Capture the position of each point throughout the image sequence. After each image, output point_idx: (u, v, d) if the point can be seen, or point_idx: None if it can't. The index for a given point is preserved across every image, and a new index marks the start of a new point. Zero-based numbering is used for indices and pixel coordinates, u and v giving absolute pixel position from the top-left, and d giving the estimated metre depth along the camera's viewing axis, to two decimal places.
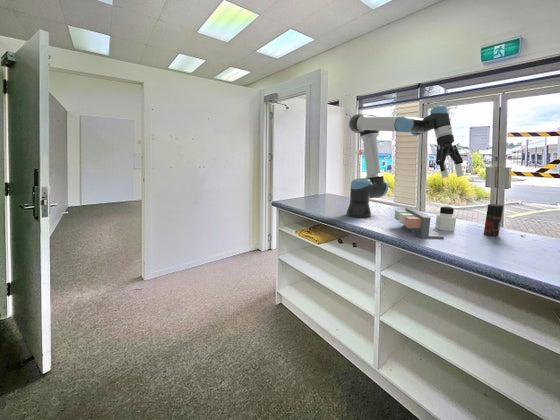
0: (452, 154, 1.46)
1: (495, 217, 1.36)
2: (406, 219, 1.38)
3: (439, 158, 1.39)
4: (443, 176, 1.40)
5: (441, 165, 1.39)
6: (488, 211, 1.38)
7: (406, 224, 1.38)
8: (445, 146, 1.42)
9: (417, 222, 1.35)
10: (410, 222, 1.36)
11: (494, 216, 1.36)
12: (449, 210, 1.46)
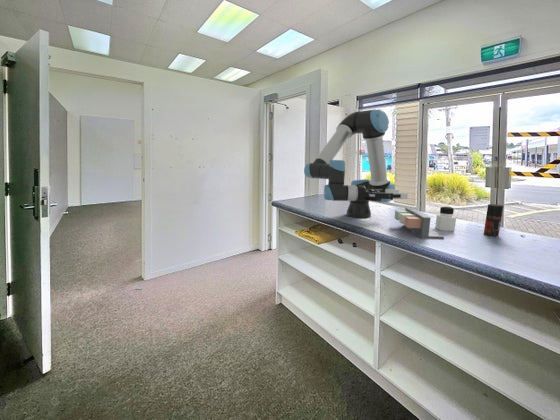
0: None
1: (495, 217, 1.36)
2: (406, 219, 1.38)
3: None
4: None
5: None
6: (488, 211, 1.38)
7: (406, 224, 1.38)
8: None
9: (417, 222, 1.35)
10: (410, 222, 1.36)
11: (494, 216, 1.36)
12: (449, 210, 1.46)
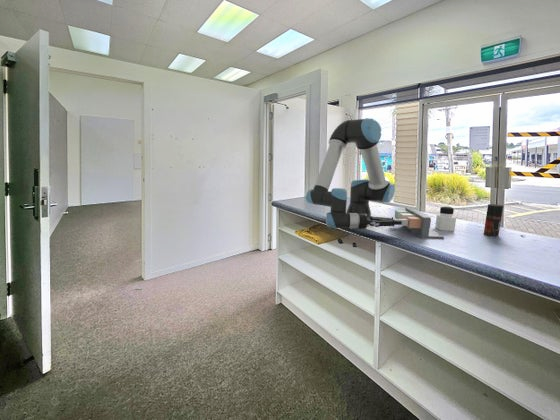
0: None
1: (495, 217, 1.36)
2: (408, 219, 1.38)
3: None
4: None
5: None
6: (488, 211, 1.38)
7: (408, 224, 1.38)
8: None
9: (418, 222, 1.35)
10: (411, 222, 1.36)
11: (494, 216, 1.36)
12: (449, 210, 1.46)
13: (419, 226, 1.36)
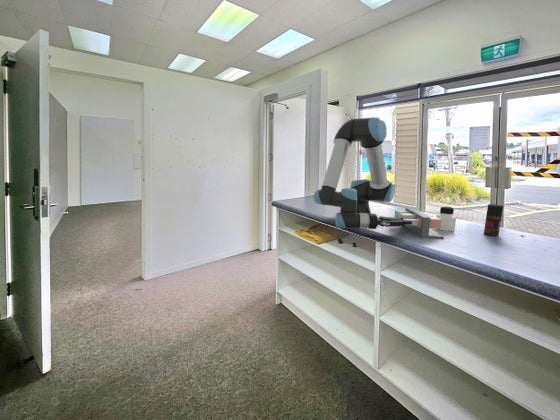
0: None
1: (495, 217, 1.36)
2: (418, 219, 1.38)
3: None
4: None
5: None
6: (488, 211, 1.38)
7: (418, 224, 1.38)
8: None
9: None
10: None
11: (494, 216, 1.36)
12: (449, 210, 1.46)
13: None
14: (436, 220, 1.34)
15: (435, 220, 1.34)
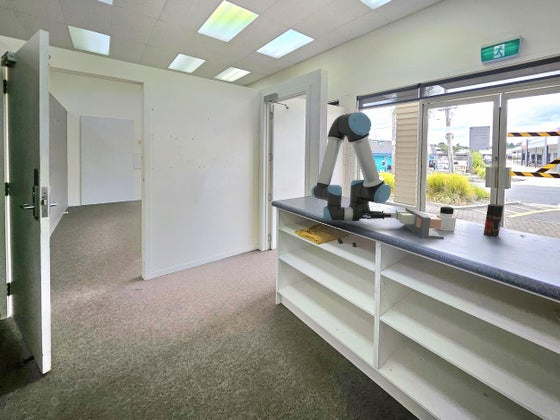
0: None
1: (495, 217, 1.36)
2: (418, 219, 1.38)
3: None
4: None
5: None
6: (488, 211, 1.38)
7: (418, 224, 1.38)
8: None
9: None
10: None
11: (494, 216, 1.36)
12: (449, 210, 1.46)
13: None
14: (436, 220, 1.34)
15: (435, 220, 1.34)
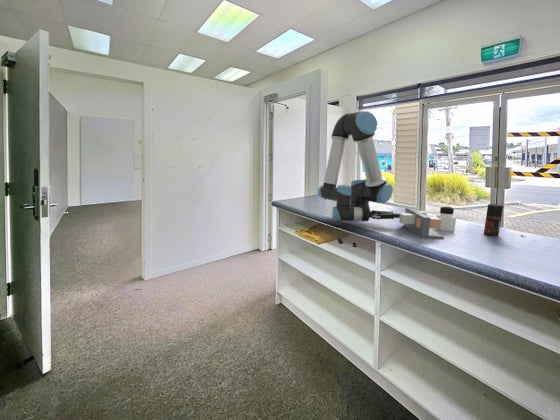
0: None
1: (495, 217, 1.36)
2: (418, 219, 1.38)
3: None
4: None
5: None
6: (488, 211, 1.38)
7: (418, 224, 1.38)
8: None
9: None
10: None
11: (494, 216, 1.36)
12: (449, 210, 1.46)
13: None
14: (436, 220, 1.34)
15: (435, 220, 1.34)
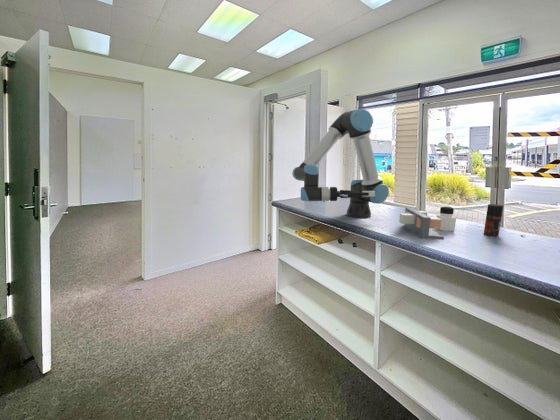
0: None
1: (495, 217, 1.36)
2: (418, 219, 1.38)
3: None
4: None
5: None
6: (488, 211, 1.38)
7: (418, 224, 1.38)
8: None
9: None
10: None
11: (494, 216, 1.36)
12: (449, 210, 1.46)
13: None
14: (436, 220, 1.34)
15: (435, 220, 1.34)
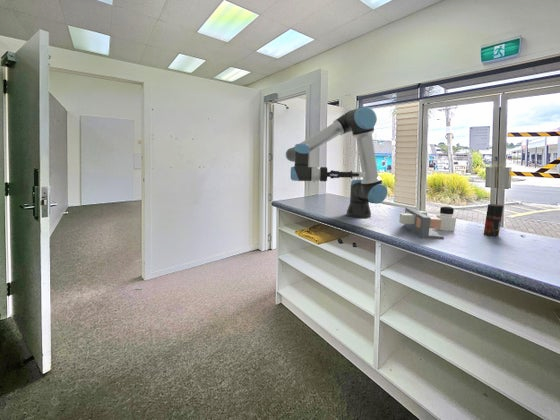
0: None
1: (495, 217, 1.36)
2: (418, 219, 1.38)
3: None
4: None
5: None
6: (488, 211, 1.38)
7: (418, 224, 1.38)
8: None
9: None
10: None
11: (494, 216, 1.36)
12: (449, 210, 1.46)
13: None
14: (436, 220, 1.34)
15: (435, 220, 1.34)
